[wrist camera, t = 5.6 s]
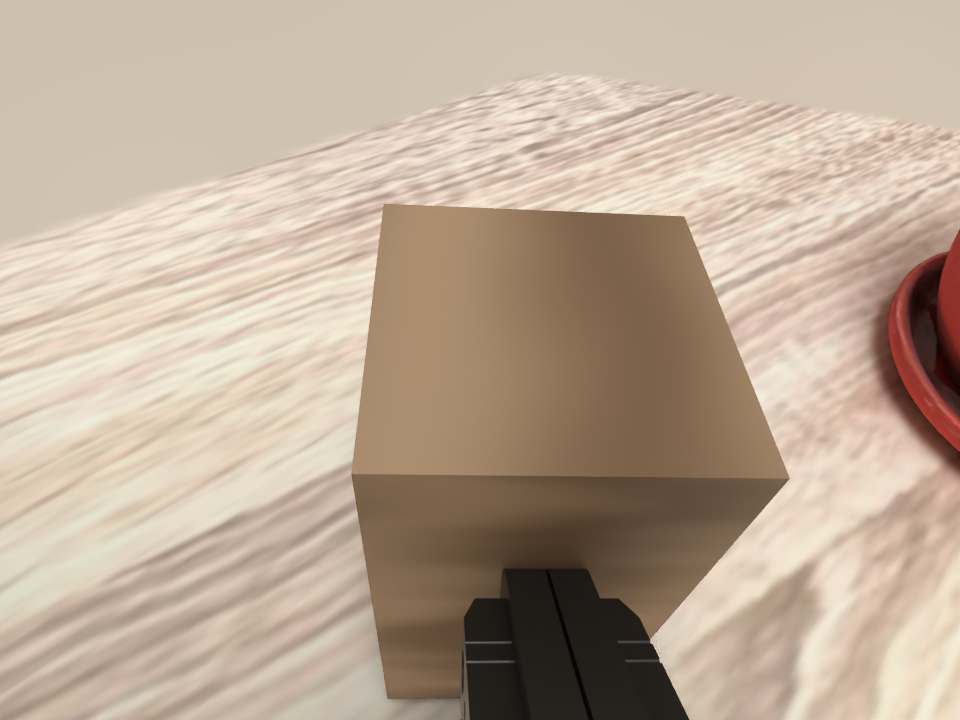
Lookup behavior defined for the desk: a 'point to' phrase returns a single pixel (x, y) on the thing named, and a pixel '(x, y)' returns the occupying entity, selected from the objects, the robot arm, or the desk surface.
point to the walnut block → (545, 421)
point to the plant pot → (931, 339)
